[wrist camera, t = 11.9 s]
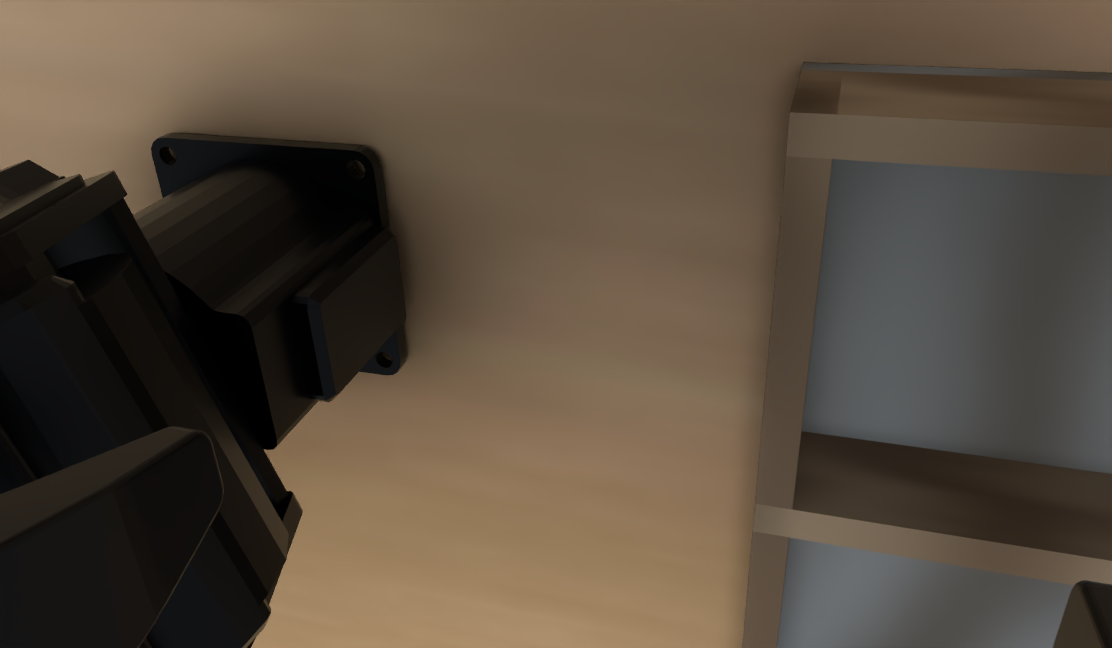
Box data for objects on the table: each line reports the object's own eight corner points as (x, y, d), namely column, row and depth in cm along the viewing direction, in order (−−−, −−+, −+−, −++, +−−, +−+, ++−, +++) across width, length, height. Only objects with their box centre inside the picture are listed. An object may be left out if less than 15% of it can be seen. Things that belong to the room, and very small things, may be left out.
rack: (730, 846, 32) (715, 953, 29) (803, 62, 19) (789, 112, 16) (1044, 928, 30) (1062, 1054, 27) (1380, 82, 17) (1492, 146, 14)
